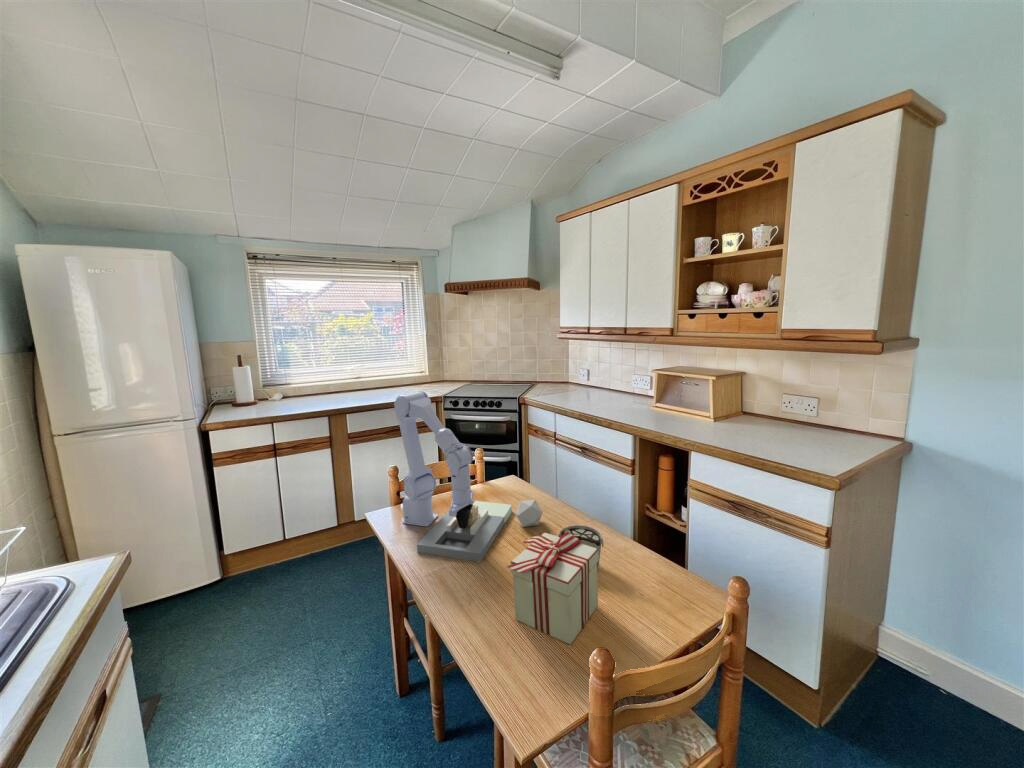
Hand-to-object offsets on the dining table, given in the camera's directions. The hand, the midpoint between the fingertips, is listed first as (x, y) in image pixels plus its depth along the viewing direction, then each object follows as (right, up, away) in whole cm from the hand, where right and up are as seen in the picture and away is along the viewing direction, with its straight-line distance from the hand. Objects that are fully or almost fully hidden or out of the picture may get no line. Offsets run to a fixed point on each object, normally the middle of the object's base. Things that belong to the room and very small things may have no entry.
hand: (463, 527), depth 131 cm
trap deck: (+1, -2, +5) cm, 6 cm away
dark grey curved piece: (+35, -5, -15) cm, 39 cm away
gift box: (+24, -9, -34) cm, 42 cm away
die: (+21, -2, +7) cm, 22 cm away
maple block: (+1, 0, +4) cm, 4 cm away
